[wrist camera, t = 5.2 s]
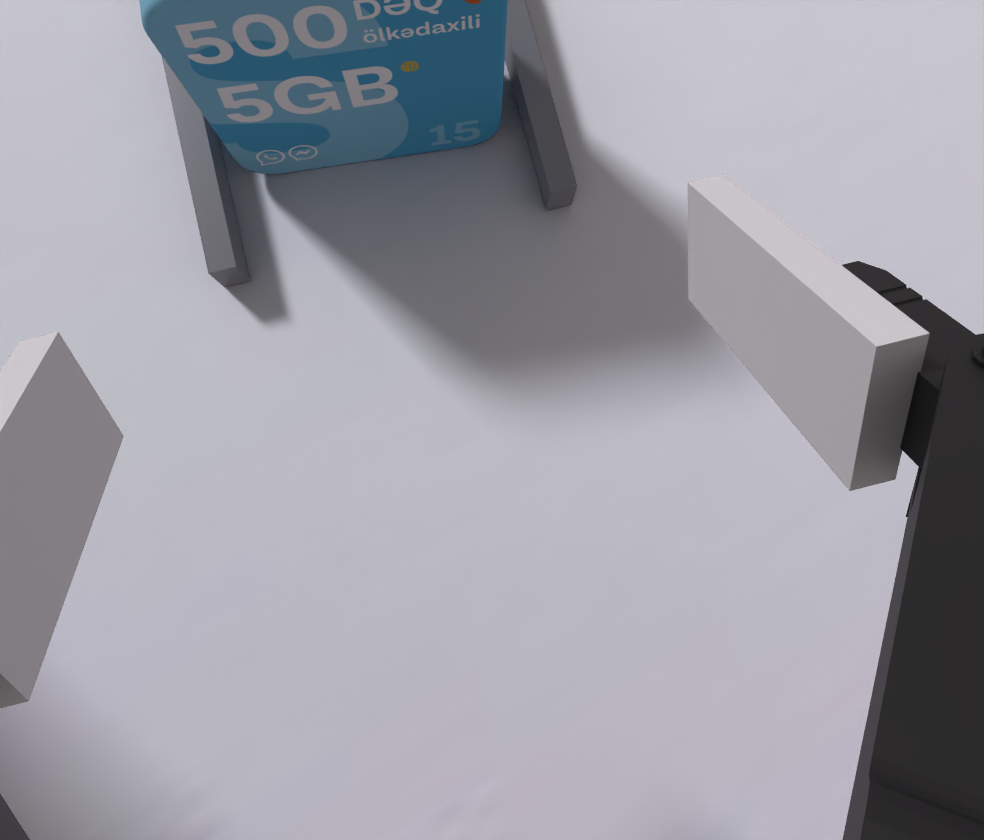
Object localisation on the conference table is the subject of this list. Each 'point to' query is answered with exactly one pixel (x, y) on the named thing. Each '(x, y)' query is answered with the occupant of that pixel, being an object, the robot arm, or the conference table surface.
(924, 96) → the conference table surface
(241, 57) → the data package
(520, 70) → the grey u-shaped frame
